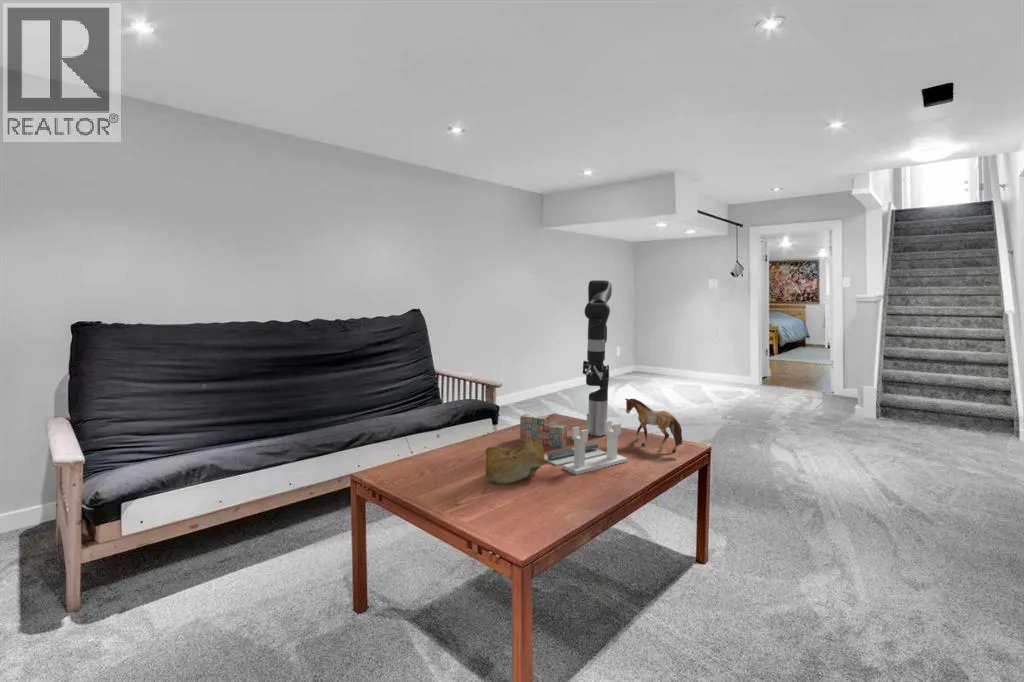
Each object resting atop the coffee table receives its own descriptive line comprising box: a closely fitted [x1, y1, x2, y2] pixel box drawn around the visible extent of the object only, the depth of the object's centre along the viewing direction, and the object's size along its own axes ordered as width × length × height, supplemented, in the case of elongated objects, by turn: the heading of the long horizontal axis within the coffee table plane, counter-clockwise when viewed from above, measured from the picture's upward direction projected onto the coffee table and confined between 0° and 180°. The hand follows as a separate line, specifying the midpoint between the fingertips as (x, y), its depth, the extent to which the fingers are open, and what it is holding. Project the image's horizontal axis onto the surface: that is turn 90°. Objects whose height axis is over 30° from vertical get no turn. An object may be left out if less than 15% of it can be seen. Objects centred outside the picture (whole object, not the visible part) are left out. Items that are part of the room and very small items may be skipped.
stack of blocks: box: [519, 412, 568, 449], centre depth 240 cm, size 21×6×12 cm, turn 61°
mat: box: [544, 448, 607, 467], centre depth 222 cm, size 12×28×1 cm, turn 124°
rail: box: [546, 441, 599, 460], centre depth 221 cm, size 26×3×3 cm, turn 124°
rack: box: [562, 420, 628, 476], centre depth 209 cm, size 8×28×16 cm, turn 124°
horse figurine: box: [624, 398, 683, 451], centre depth 234 cm, size 31×8×21 cm, turn 39°
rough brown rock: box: [485, 438, 545, 485], centre depth 196 cm, size 23×17×15 cm
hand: (595, 386), depth 225 cm, fingers open, 8 cm apart
